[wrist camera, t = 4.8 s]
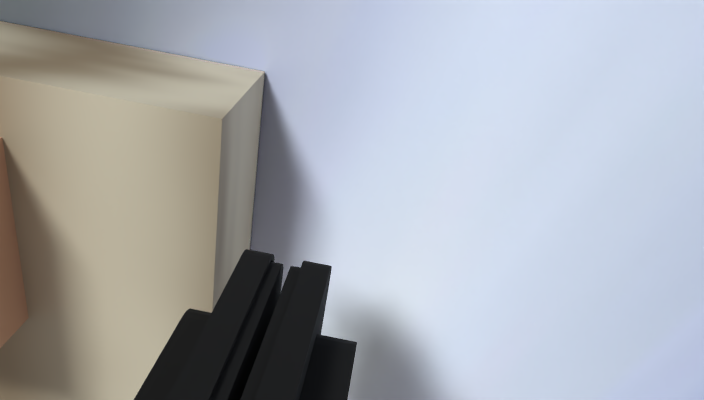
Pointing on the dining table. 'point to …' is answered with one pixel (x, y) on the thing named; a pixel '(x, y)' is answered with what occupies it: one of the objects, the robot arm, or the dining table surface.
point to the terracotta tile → (9, 263)
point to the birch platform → (118, 203)
